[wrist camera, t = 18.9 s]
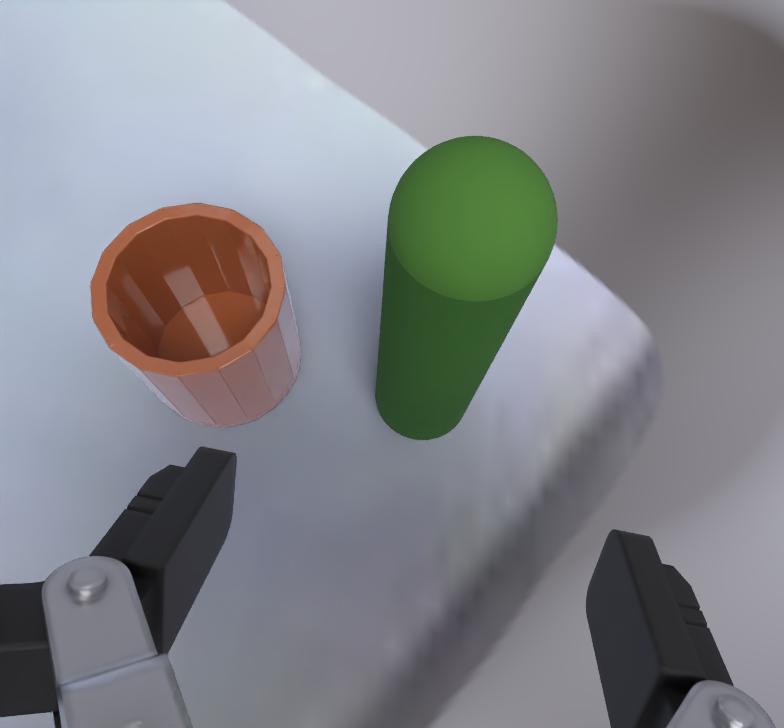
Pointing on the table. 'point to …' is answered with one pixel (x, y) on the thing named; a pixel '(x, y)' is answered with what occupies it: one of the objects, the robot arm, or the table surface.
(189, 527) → the robot arm
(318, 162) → the table surface
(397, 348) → the cucumber
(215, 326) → the cup
